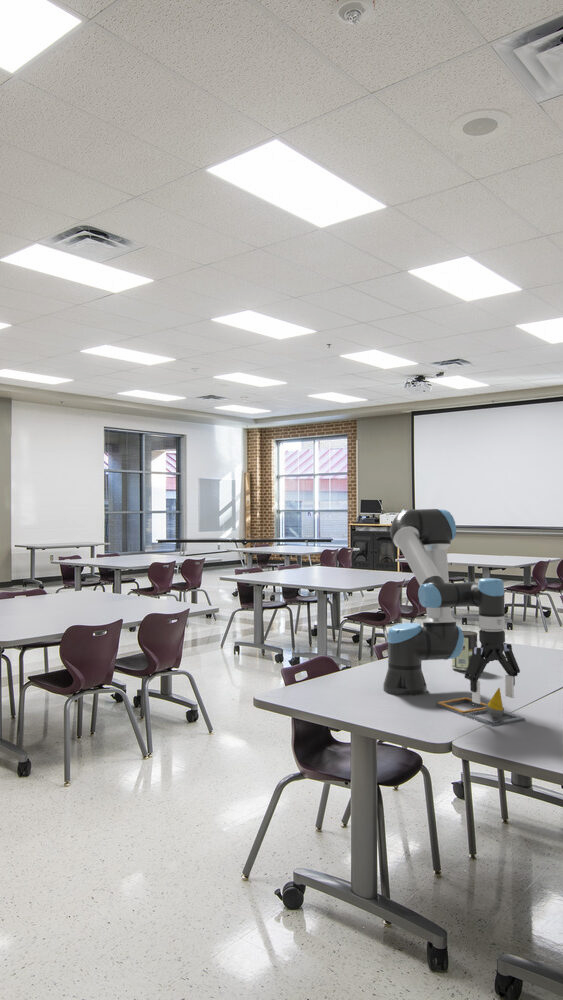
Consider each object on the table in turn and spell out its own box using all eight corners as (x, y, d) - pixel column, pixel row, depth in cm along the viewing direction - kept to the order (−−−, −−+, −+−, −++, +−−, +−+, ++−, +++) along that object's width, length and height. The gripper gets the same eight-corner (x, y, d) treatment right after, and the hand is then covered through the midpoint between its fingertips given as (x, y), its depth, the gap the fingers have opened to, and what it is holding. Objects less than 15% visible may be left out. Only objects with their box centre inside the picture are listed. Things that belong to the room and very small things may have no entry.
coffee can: (474, 664, 278) (473, 630, 278) (480, 670, 268) (480, 634, 268) (448, 664, 278) (448, 630, 278) (454, 670, 268) (454, 634, 268)
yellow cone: (488, 713, 210) (494, 682, 208) (504, 720, 206) (511, 689, 205) (481, 717, 205) (487, 686, 204) (497, 724, 202) (504, 692, 201)
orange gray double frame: (436, 706, 219) (436, 702, 219) (466, 700, 225) (466, 696, 225) (492, 727, 197) (492, 723, 197) (524, 721, 203) (524, 717, 203)
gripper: (469, 634, 197) (470, 708, 197) (531, 627, 209) (532, 697, 208) (451, 631, 204) (453, 702, 203) (512, 624, 215) (514, 692, 215)
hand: (493, 699), depth 206 cm, fingers open, 13 cm apart
